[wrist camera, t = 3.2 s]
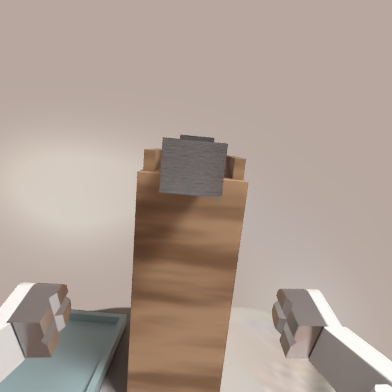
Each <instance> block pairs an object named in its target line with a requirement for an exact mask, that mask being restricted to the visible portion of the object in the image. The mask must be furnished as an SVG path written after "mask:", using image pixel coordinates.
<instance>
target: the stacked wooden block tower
mask: <svg viewBox="0 0 392 392" xmlns="http://www.w3.org/2000/svg"><path fill="white" fill-rule="evenodd" d="M161 158H162V149H145V150H144V167H143V170H141V171H138V172H137V192H136V213H135V235H134V255H133V275H132V276H133V277H132V296H131V317H130V337H129V358H128V379H127V392H220V385H221V378H222V370H223V363H224V356H225V349H226V341H227V334H228V327H229V320H230V312H231V305H232V298H233V290H234V283H235V275H236V269H237V261H238V253H239V247H240V240H241V232H242V225H243V217H244V211H245V203H246V196H247V189H248V182H247V181H246V180H244V179H243V177H244V170H245V162H246V159H243V158H240V157H236V156H228V155H226V164H225V172H224V181H223V189H222V198H214V197H204V196H193V195H182V194H172V193H161V192H159V188H160V173H161Z"/></svg>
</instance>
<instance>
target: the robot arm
mask: <svg viewBox="0 0 392 392" xmlns="http://www.w3.org/2000/svg"><path fill="white" fill-rule="evenodd" d="M67 293H68V289H67V286H66V285H64V284H47V283H21V284H19V285H18V286H17V287H16V288H15V289H14V291H13V292H12V293H11V295H10V296H9V297H8V298H7V300H6V301H5V302H4V303H3V305H2V306H1V307H0V382H2V381H3V380H4V379H5V378H6V377H7V376H8V375H9V374H10V373H11V372H12V371H13V370H14V369H15V368H16V367H18V366H19V365H20V364H21V363H22V362H23V361H24V360H25V358H42V357H51V356H52V354H53V352H54V350H55V348H56V346H57V344H58V341H59V339H60V337H59V333H58V332H59V331H61V330H62V329H63V328H64V327H65V326H66V324H67V322H68V320H69V316H70V312H71V302H70V299H69V298H67V297H66V294H67ZM277 298H278V301H277V302H275V303H274V305H273V309H272V317H273V322H274V326H275V329H276V330H277V331H278V332H279V333H280V334H282V335H281V337H280V343H281V346H282V348H283V351H284V354H285V357H286V358H299V359H309V361H310V363H311V364H312V365H313V366H314V367H315V368H316V369H317V370H318V371H319V373H320V374H321V375H322V376H323V377H324V378H325V379H326V380H327V382H328V383H329V384H330V385H331V386H332V387H333V388H334V389H335V391H336V392H392V362H391V361H390V360H389V359H387V358H386V357H385V356H384V355H382V354H381V353H380V352H378V351H377V350H375V349H374V348H373V347H372V346H370V345H369V344H368V343H366V342H365V341H364V340H362V339H361V338H360V337H358V336H357V335H356V334H354V333H353V332H352V331H350V330H349V329H348V328H347V327H342V326H341V324H340V323H339V321H338V320H337V318H336V316H335V315H334V313H333V311H332V310H331V308H330V306H329V305H328V303H327V302H326V300H325V298H324V297H323V295H322V294H321V292H320V291H319V290H316V289H279V290H278V292H277Z"/></svg>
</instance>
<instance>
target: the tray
mask: <svg viewBox="0 0 392 392" xmlns="http://www.w3.org/2000/svg"><path fill="white" fill-rule="evenodd" d="M126 315H127V314H118V313H106V312H95V311H83V310H72V309H71V312H70V316H69V320H68V322H67V324H66V326H65V327H64V328H63V329H62V330H61V331H59V332H58V333H59V337H60V339H59V341H58V344H57V346H56V348H55V350H54V352H53V354H52V356H51V357H42V358H25V360H24V361H23V362H22V363H21V364H20V365H19V366H18V367H16V368H15V369H14V370H13V371H12V372H11V373H10V374H9V375H8V376H7V377H6V378H5V379H4V380H3V381H2V382H0V392H100V389H101V387H102V384H103V382H104V379H105V377H106V374H107V372H108V369H109V367H110V364H111V362H112V359H113V357H114V354H115V352H116V349H117V347H118V344H119V342H120V339H121V337H122V334H123V332H124V329H125V327H126Z"/></svg>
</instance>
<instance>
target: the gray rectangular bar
mask: <svg viewBox="0 0 392 392" xmlns="http://www.w3.org/2000/svg"><path fill="white" fill-rule="evenodd" d="M227 147H228V144H225V143H215V142H214V138H209V137H198V136H188V135H181V136H180V139H174V138H164V137H163V143H162V158H161V173H160V188H159V192H161V193H172V194H182V195H193V196H204V197H214V198H222V189H223V181H224V172H225V164H226V155H227Z"/></svg>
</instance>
